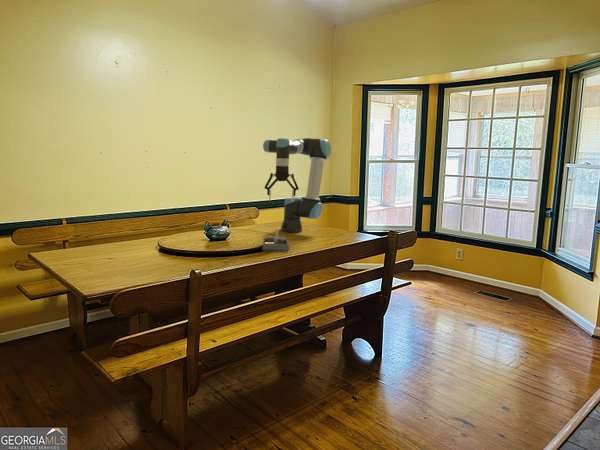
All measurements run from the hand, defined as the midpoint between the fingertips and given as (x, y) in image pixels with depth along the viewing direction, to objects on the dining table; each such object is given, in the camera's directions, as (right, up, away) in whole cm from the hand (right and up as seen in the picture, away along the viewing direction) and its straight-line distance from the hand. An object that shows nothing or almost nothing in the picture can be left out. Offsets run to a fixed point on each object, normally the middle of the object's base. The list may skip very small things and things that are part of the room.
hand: (281, 201), depth 266 cm
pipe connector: (-4, -27, -2) cm, 27 cm away
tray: (-3, -28, -2) cm, 28 cm away
